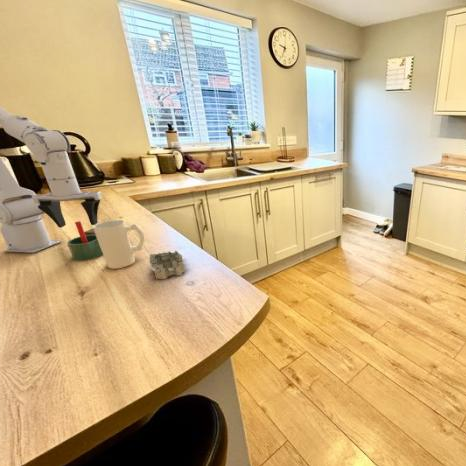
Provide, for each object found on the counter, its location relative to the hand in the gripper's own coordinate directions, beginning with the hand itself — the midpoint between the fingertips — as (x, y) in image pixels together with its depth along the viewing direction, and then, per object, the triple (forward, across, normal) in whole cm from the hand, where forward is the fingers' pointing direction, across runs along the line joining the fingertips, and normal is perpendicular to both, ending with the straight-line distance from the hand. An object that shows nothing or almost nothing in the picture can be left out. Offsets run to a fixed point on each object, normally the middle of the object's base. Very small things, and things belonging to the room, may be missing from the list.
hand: (78, 225), depth 83 cm
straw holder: (+10, +2, -15) cm, 17 cm away
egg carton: (+10, -25, +16) cm, 31 cm away
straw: (+9, 0, 0) cm, 9 cm away
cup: (+10, 0, 0) cm, 10 cm away
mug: (+10, -13, +8) cm, 18 cm away
